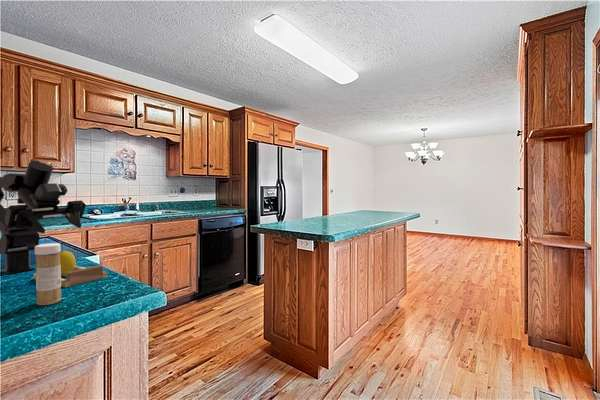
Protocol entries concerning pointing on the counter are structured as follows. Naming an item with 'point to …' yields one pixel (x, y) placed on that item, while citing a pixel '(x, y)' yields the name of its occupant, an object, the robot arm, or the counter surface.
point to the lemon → (67, 262)
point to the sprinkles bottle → (48, 273)
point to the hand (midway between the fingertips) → (63, 229)
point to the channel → (82, 275)
